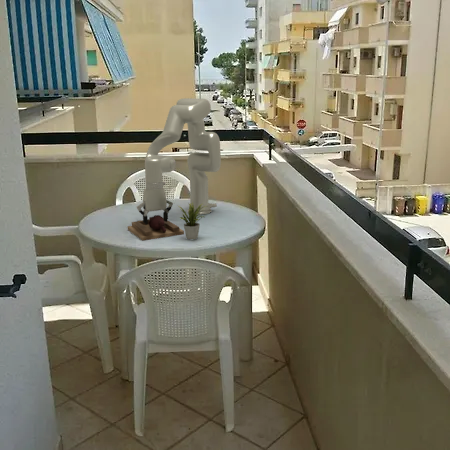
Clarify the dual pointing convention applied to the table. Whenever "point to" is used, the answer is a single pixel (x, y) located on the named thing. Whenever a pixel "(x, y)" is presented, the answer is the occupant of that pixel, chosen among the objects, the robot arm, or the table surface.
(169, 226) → the cradle
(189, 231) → the house plant
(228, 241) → the table surface
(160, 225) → the icecream
